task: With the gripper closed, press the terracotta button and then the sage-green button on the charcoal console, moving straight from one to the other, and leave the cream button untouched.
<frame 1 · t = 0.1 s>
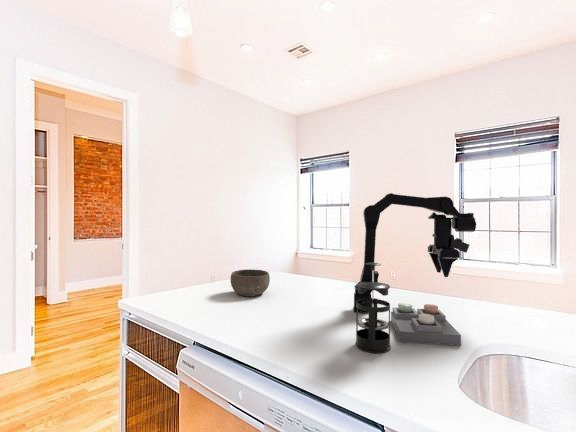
hand: (442, 274, 118), 15 cm above the table, fingers open, 9 cm apart
console: (422, 331, 101), on the table
bowl: (250, 294, 148), on the table
cream button: (426, 318, 96), point 6 cm above the table, slide at 0.0 cm
sage button: (405, 307, 107), point 6 cm above the table, slide at 0.0 cm
terracotta button: (430, 308, 106), point 6 cm above the table, slide at 0.0 cm
french press: (372, 346, 90), on the table
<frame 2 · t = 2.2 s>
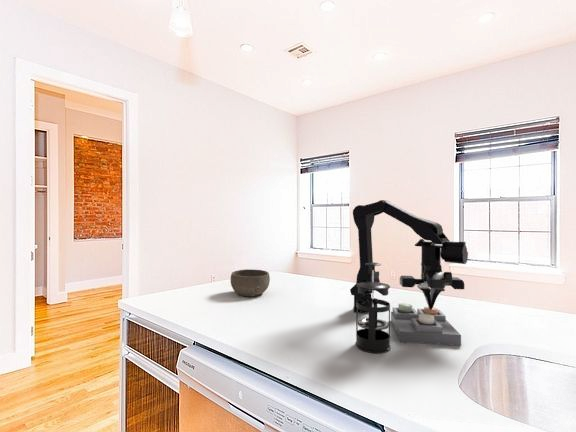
hand: (430, 308, 106), 6 cm above the table, fingers closed, pressing on terracotta button
terracotta button: (430, 311, 106), point 5 cm above the table, slide at 0.8 cm, touching gripper
everything else where it was.
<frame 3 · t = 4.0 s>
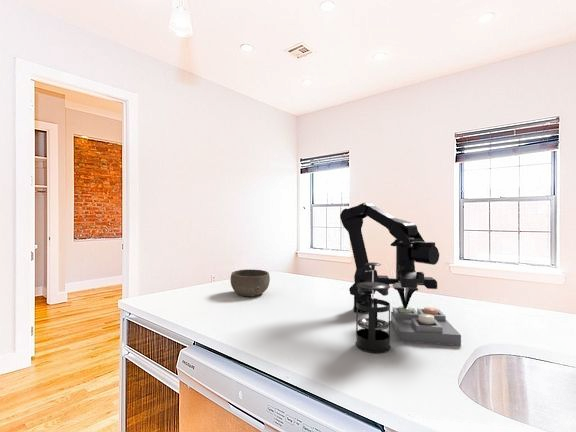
hand: (404, 307, 107), 5 cm above the table, fingers closed, pressing on sage button
sage button: (405, 310, 107), point 5 cm above the table, slide at 1.0 cm, touching gripper
terracotta button: (430, 311, 106), point 5 cm above the table, slide at 1.0 cm
everything else where it was.
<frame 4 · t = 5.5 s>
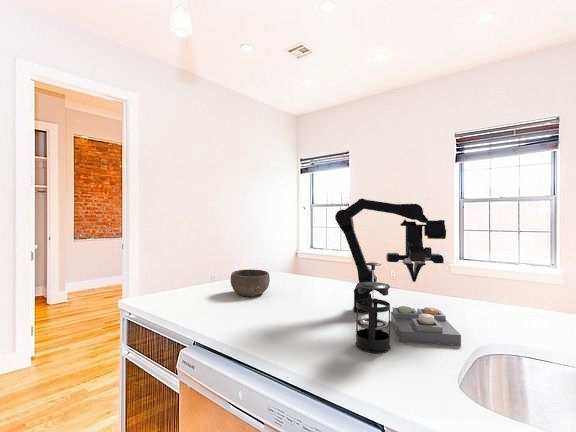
hand: (413, 281, 117), 12 cm above the table, fingers closed
sage button: (405, 310, 107), point 5 cm above the table, slide at 1.0 cm
everything else where it was.
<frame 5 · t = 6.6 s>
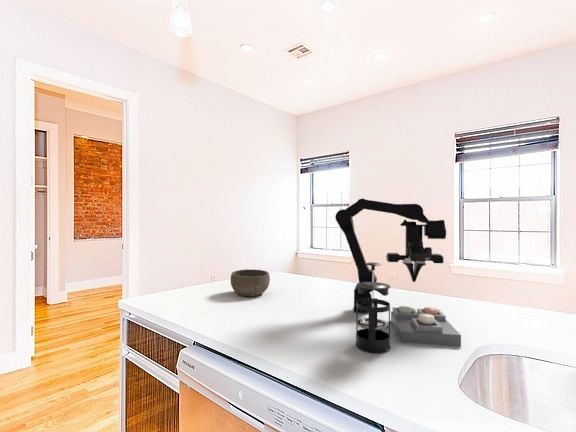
hand: (413, 281, 118), 12 cm above the table, fingers closed
nothing on the table moved.
at the end: terracotta button slide at 1.0 cm; sage button slide at 1.0 cm; cream button slide at 0.0 cm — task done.
